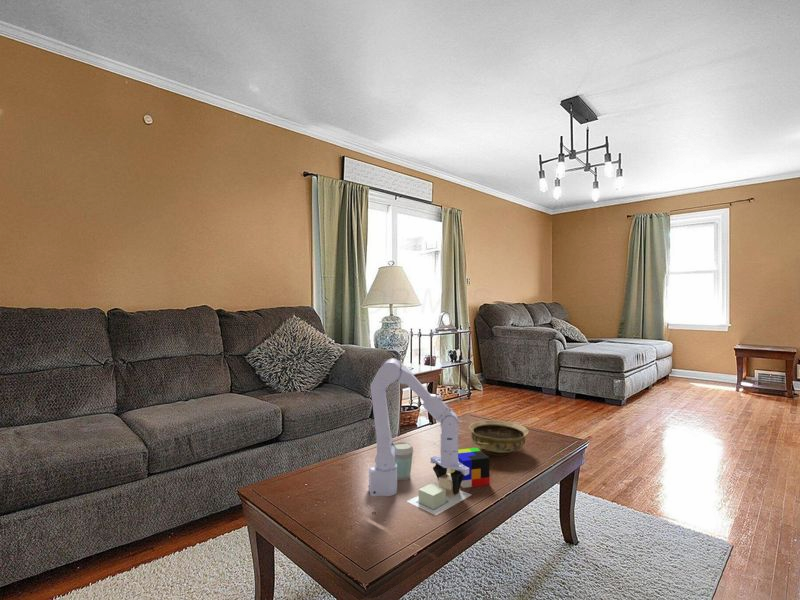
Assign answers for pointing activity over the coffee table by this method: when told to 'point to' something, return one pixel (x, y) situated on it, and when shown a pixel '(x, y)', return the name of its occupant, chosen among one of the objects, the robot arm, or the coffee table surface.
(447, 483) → the maple block
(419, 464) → the coffee table surface
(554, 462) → the coffee table surface
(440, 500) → the sage base block
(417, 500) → the board
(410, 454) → the coffee cup
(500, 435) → the ceramic bowl
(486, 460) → the puzzle toy
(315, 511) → the coffee table surface
